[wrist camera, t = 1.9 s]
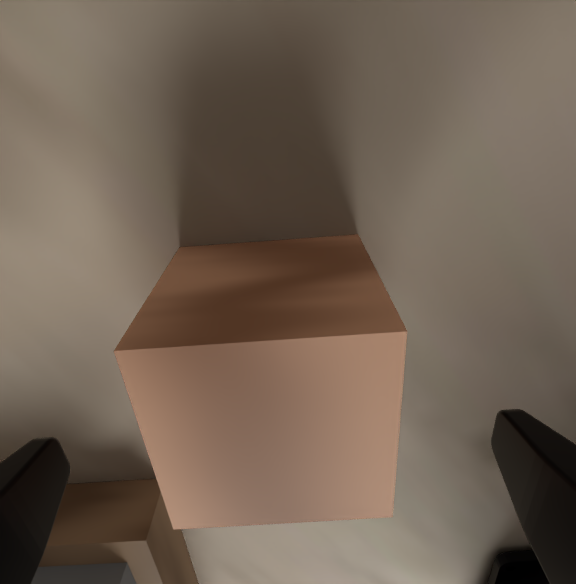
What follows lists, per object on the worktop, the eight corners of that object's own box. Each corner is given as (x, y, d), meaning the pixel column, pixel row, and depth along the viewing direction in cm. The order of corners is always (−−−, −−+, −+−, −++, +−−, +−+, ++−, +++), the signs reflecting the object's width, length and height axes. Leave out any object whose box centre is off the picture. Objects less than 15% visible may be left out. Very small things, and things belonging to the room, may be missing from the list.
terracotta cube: (357, 233, 11) (407, 331, 7) (356, 374, 13) (392, 517, 9) (180, 246, 11) (113, 351, 7) (209, 384, 14) (173, 529, 9)
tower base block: (168, 465, 16) (146, 540, 13) (209, 597, 21) (198, 673, 18) (-73, 479, 16) (-143, 556, 14) (19, 607, 21) (-19, 683, 18)
